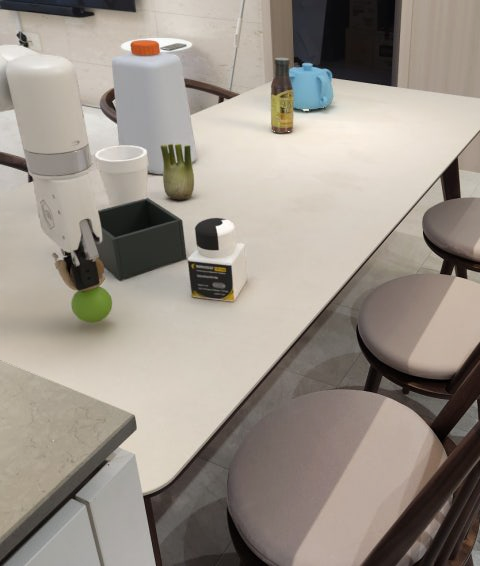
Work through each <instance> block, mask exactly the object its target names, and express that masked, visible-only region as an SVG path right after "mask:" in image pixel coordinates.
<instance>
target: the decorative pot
mask: <svg viewBox="0 0 480 566" xmlns="http://www.w3.org/2000/svg"><path fill="white" fill-rule="evenodd" d="M313 65H314V64H313V63H310V62H304V63H302V64H301V66H299V67H296V66H293V67H289V77H290V81H291V84H292V88H293V109H297V110H302V109H310V110H316V109H317V110H319V109H318V108H323V107H325V108H326V107H328V105H329V106H330V105H331V104H332V102H333V101H334V90H333V89H334V88H333V85H332V81H333V73H332V71H331V70H329V69H327V68H319V67H315V66H313Z"/></svg>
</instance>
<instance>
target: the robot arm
mask: <svg viewBox="0 0 480 566" xmlns="http://www.w3.org/2000/svg"><path fill="white" fill-rule="evenodd" d="M81 97H82V96H81V93H80V86H79V80H78V75H77V71H76V67H75V66H74V63H72V62H71V60H69V59H67V58H66V57H64V56H61V55H56V54H41V53H40V52H38V51H35V50H33V49H30V48H29V47H26V46H23V45H20V44H0V113H3V112H6V111H14V115H15V119H16V124H17V128H18V132H19V137H20V140H21V145H22V150H23V154H24V158H25V164H26V167H27V171H28V174H29V175H30V177H32V184H33V191H34V197H35V202H36V208H37V215H38V220H39V225H40V228H41V230H42V231H43V233H44V234H45V235H46V236H47V237H48V238H49V239H50V240H51V241H52V242H53V243H55V244H56V245H57V246H58V248H60V251H61V254H62V256H63V258H62V260H64V261H65V262H66V268H67V270H68V272H69V274H70V269H72V274H73V279H74V283H75V288H76V289H77V290H76V291H78V290H79V291H80V290H83V289H86V288H89V287H92V286H95V285H98V284H99V283H100V281H99V276H98V270H97V265H96V258H99V254H98V251H97V248H96V245H95V243H96V244H100V243H101V242H102V229H101V223H100V218H99V213H98V210H99V208H98V205H97V200H96V196H95V192H94V188H93V184H92V181H91V177H90V175H89V173H90V172H91V171H92V170H93V168H94V167H93V160H92V155H91V149H90V143H89V137H88V132H87V126H86V120H85V114H84V109H83V104H82V98H81Z"/></svg>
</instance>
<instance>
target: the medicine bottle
mask: <svg viewBox="0 0 480 566" xmlns="http://www.w3.org/2000/svg"><path fill="white" fill-rule="evenodd" d="M194 234H195V243H196V248H195V250H194V251H193V252H192V254H191V255H189V257H188V258H187V265H188V267H187V268H188V275H189V282H190V283H189V284H190V292H191V296H192V298H198V299H204V300H205V299H206V300H214V301H223V302H231V303H233V302H235V301H236V299H237V298H238V296H239V294H240V293H241V291H242V289H243V288H244V287H245V286H244V285H246V283H247V282H248V275H247V274H248V273H247V272H248V271H247V257H246V244H244V243H241V242H240V243H239V242H236V241H237V240H236V228H235V224H234V223H233V222H232V221H231V220H229V219H226V218H223V217H211V218H210V217H209V218H207V219H203V220H201V221H199V222H198V223H197V224H196V225H195V226H194Z"/></svg>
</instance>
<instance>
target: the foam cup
mask: <svg viewBox="0 0 480 566" xmlns="http://www.w3.org/2000/svg"><path fill="white" fill-rule="evenodd" d="M94 158H95V159H94V160H95V164H96V168H97V170H98V172H99V175H100V178H101V181H102V183H103V187H104V189H105V193H106V196H107V199H108V202H109V205H110V207H114V206H118V205H122V204H126V203H130V202H134V201H138V200H142V199H146V198H149V197H148V193H149V192H148V188H149V187H148V182H149V181H148V179H149V178H148V176H149V175H148V171H147V166H148V157H147V150H146V149H144V148H142V147H138V146H131V145H120V146H119V145H113V146H108V147H104V148H101V149H99V150H98V151H96V152H95V154H94Z"/></svg>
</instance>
